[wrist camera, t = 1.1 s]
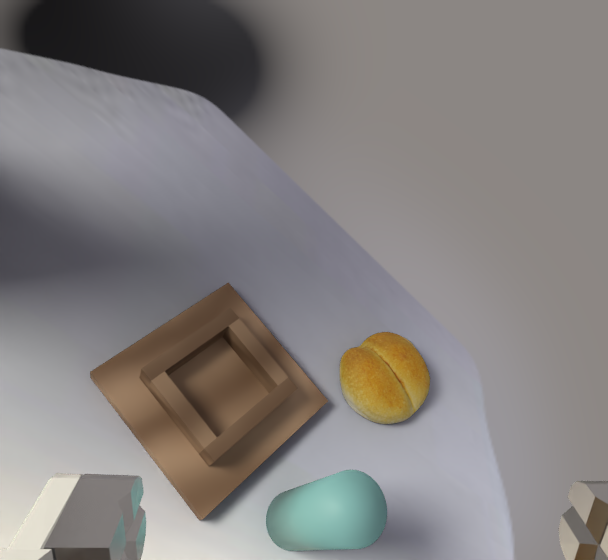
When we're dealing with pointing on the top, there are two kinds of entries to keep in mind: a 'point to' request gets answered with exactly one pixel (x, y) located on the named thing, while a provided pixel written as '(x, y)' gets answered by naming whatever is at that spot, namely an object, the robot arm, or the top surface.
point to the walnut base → (209, 396)
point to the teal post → (328, 514)
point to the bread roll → (384, 378)
